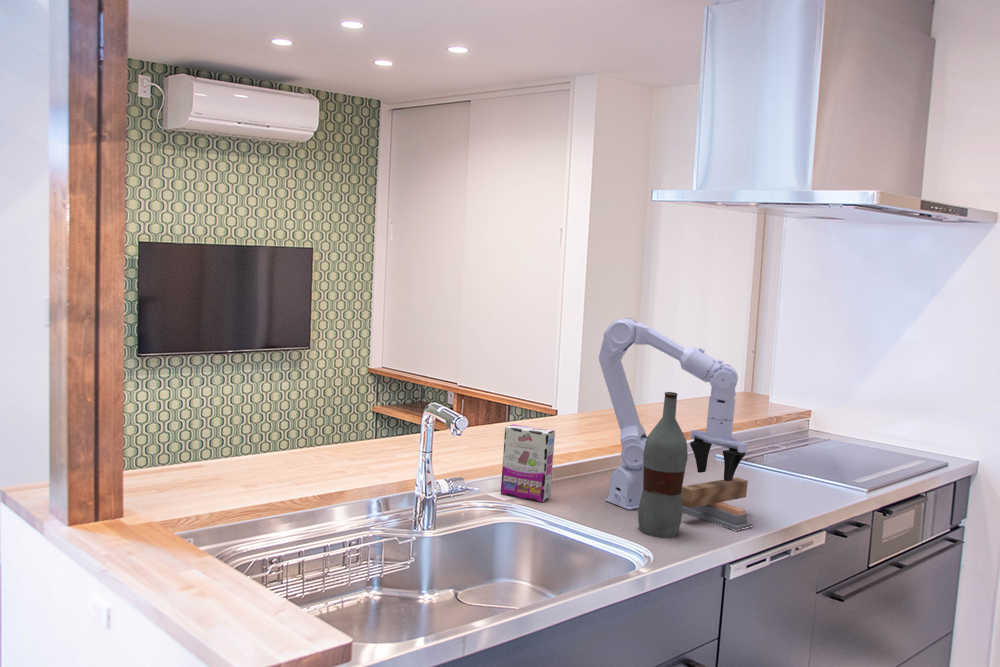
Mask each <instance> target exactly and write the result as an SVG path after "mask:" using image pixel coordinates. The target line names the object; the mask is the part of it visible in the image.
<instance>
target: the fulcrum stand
mask: <svg viewBox="0 0 1000 667" xmlns="http://www.w3.org/2000/svg"><path fill="white" fill-rule="evenodd" d="M684 512H685V514H687V513H688V514H687V515H690V516H692V515H693V517H695V518H697V519H700V518H701V519H700V520H703V519H704V521H706V520H707V521H706V522H708V521H710V522H709V523H711V522H713V523H712V524H714V523H716V524H715V525H717V524H719V525H722V526H725V527H728V528H731V529H734V530H738V529H742V528H746V527H750V526H754V523H753V522H750V521H747V520H748V513H746V509H743V508H740V507H737V506H734V505H731V504H728V503H725V502H719V503H714V504H708V505H703V506H698V507H693V508H689V507H686V506H684V505H682V513H684ZM719 525H718V526H719ZM722 526H721V527H722ZM725 527H724V528H725Z"/></svg>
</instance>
